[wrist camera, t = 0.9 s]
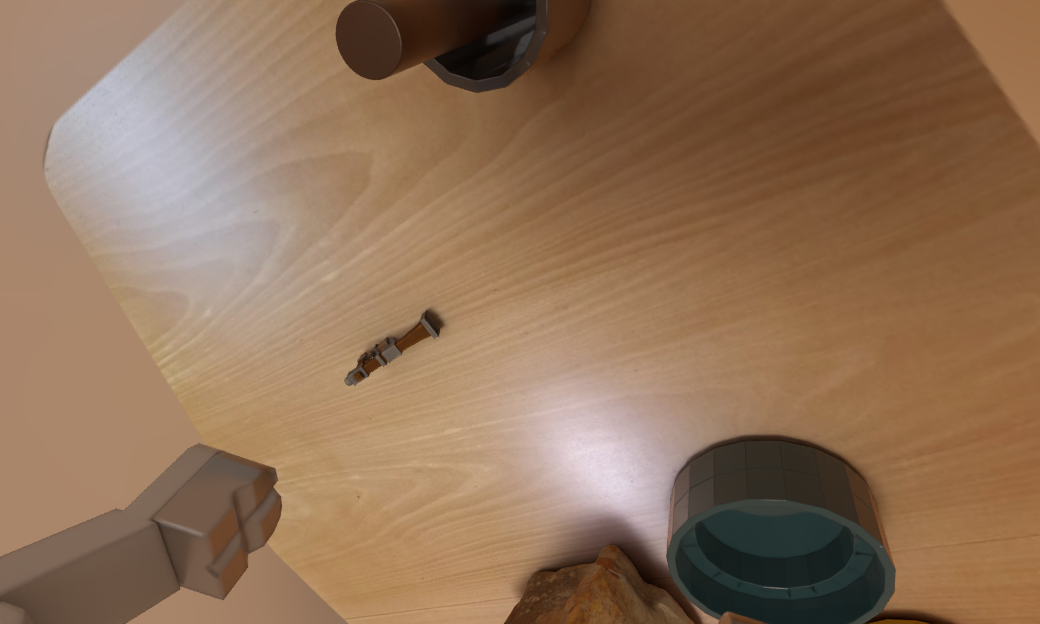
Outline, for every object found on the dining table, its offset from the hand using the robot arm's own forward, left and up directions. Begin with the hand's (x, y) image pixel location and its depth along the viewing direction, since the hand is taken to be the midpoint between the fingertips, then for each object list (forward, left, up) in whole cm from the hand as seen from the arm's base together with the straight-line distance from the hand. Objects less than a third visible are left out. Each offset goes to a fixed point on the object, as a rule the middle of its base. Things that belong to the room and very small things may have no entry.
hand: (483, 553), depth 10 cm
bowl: (+14, +27, -28) cm, 41 cm away
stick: (-1, -9, -28) cm, 29 cm away
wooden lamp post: (+24, -2, -28) cm, 37 cm away
